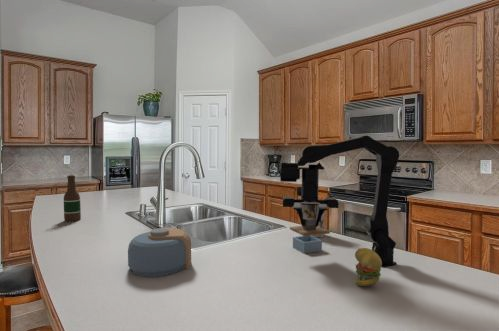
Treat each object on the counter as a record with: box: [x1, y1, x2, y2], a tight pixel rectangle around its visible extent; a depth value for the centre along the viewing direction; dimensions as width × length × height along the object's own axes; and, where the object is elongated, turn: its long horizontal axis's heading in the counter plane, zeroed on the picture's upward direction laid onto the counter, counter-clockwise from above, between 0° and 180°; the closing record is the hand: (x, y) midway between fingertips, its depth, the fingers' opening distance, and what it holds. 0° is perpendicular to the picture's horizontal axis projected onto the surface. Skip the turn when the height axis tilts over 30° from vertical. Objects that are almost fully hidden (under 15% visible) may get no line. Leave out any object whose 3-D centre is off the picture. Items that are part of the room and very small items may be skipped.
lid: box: [289, 218, 331, 236], centre depth 112 cm, size 10×10×4 cm
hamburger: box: [354, 247, 382, 287], centre depth 91 cm, size 8×7×12 cm
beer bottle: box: [63, 174, 82, 223], centre depth 170 cm, size 8×8×24 cm
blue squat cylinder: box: [127, 227, 192, 277], centre depth 106 cm, size 19×20×12 cm
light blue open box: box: [292, 235, 323, 254], centre depth 123 cm, size 8×8×4 cm
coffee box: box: [301, 198, 326, 239], centre depth 143 cm, size 9×6×16 cm
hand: (309, 226), depth 112 cm, fingers closed on lid, 4 cm apart
